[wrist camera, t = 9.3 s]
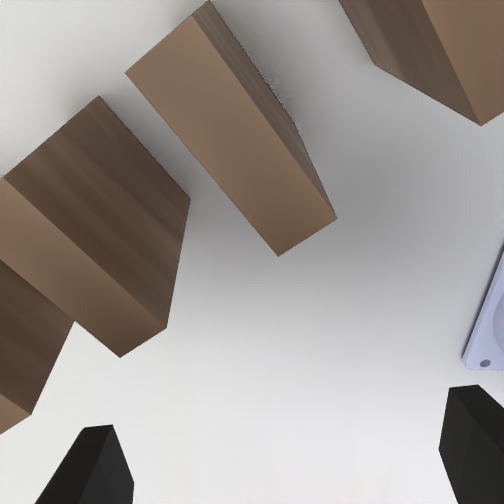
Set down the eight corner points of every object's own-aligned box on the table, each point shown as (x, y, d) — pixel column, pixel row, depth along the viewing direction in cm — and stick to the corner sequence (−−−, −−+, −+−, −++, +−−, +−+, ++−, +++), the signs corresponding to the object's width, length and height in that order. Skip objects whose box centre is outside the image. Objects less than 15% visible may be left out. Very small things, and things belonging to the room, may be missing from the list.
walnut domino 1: (5, 176, 18) (-139, 299, 11) (100, 264, 20) (31, 414, 13) (-23, 199, 18) (-178, 332, 11) (74, 283, 20) (-7, 438, 13)
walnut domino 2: (98, 95, 16) (2, 177, 9) (190, 199, 19) (166, 327, 12) (67, 122, 17) (-47, 220, 10) (160, 221, 19) (119, 357, 12)
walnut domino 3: (209, -1, 15) (191, 14, 8) (294, 123, 17) (337, 218, 10) (171, 32, 15) (124, 72, 9) (259, 148, 18) (278, 256, 11)
